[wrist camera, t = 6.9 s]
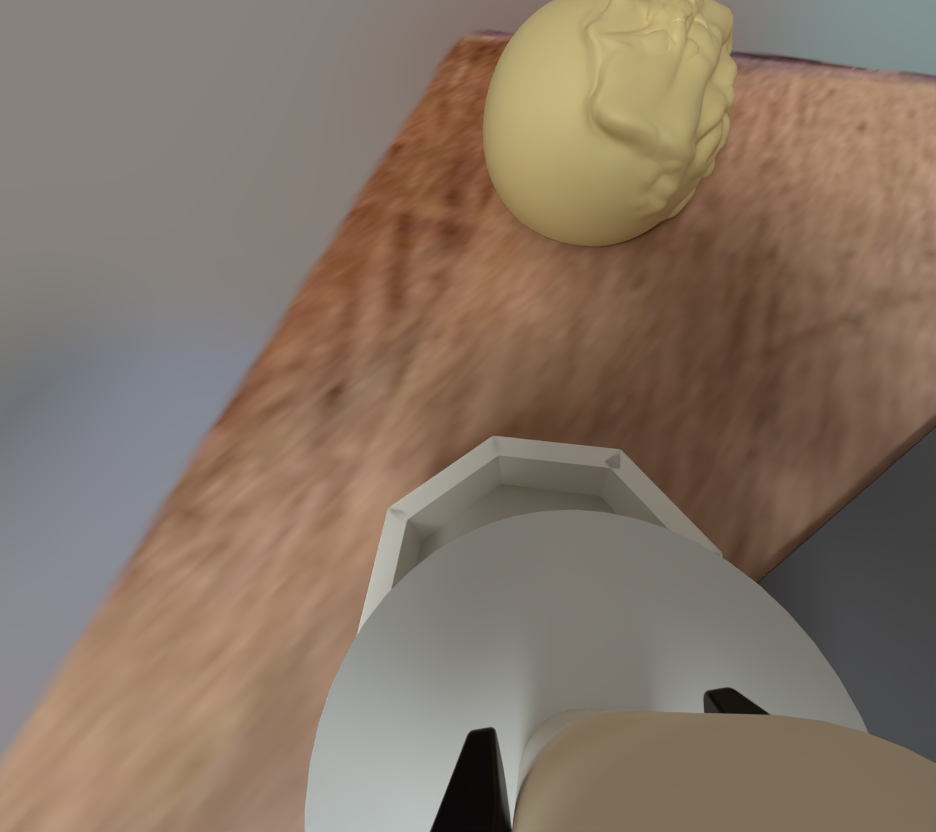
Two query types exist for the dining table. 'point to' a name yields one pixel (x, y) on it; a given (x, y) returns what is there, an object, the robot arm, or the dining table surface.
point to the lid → (600, 695)
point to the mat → (876, 598)
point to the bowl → (515, 500)
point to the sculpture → (609, 114)
